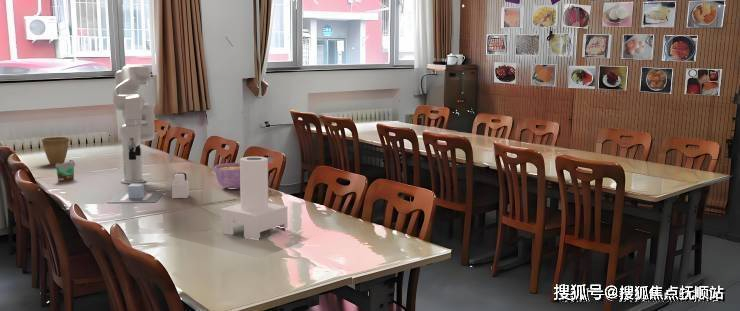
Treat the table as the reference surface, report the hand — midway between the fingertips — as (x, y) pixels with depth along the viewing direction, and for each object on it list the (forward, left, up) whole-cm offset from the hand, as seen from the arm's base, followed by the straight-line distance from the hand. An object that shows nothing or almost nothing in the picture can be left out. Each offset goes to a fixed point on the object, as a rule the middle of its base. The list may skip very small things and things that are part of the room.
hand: (134, 157), depth 318 cm
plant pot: (-90, -67, -20) cm, 114 cm away
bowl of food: (-19, +45, -20) cm, 53 cm away
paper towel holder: (+63, +60, -20) cm, 89 cm away
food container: (-42, -45, -20) cm, 65 cm away
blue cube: (+1, 0, -19) cm, 19 cm away
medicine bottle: (+1, +21, -20) cm, 29 cm away
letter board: (+1, 0, -20) cm, 20 cm away
